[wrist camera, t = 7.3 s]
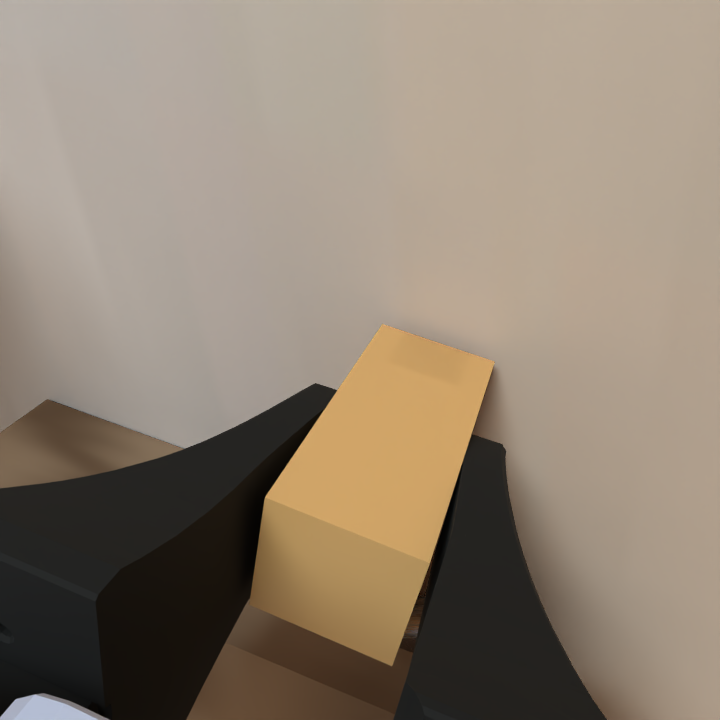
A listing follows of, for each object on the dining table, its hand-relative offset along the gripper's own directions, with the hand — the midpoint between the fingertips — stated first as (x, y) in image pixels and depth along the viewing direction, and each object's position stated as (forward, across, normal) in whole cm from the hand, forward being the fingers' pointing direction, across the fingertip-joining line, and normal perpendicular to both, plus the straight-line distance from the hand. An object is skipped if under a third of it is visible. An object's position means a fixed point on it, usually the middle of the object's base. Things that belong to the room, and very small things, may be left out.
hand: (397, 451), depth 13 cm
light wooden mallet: (+2, 0, +5) cm, 6 cm away
